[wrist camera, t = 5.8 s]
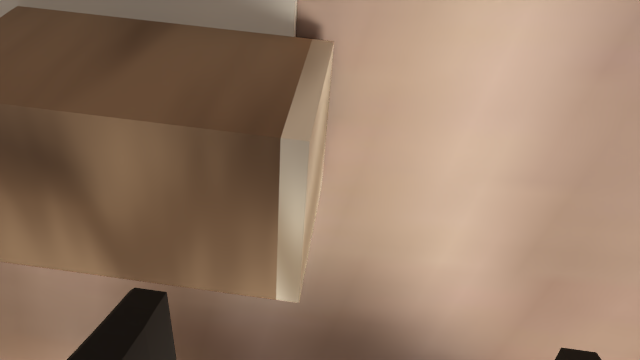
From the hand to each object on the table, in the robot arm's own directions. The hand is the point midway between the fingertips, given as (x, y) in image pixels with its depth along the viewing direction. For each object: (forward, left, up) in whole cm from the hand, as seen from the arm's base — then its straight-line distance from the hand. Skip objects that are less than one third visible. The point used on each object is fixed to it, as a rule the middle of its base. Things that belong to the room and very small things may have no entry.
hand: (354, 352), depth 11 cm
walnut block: (0, +1, -6) cm, 6 cm away
